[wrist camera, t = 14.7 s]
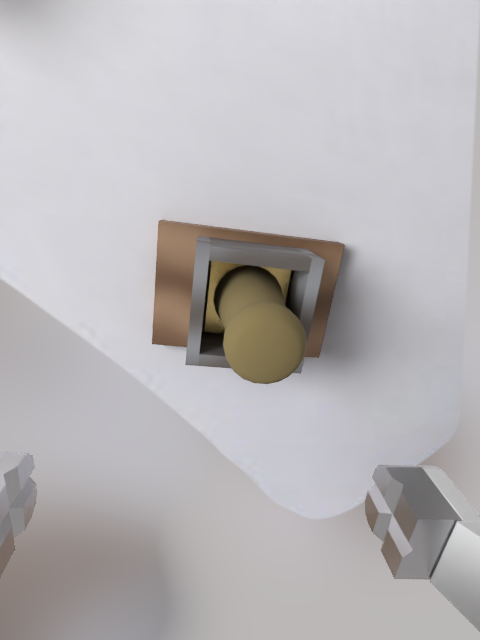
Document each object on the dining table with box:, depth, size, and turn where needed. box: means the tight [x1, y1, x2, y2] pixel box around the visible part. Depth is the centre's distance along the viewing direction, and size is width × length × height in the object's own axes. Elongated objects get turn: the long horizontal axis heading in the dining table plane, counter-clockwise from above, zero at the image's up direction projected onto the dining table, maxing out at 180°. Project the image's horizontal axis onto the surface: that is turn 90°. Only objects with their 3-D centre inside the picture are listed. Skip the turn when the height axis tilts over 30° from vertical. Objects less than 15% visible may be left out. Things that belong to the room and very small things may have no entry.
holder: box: [152, 220, 344, 373], centre depth 31 cm, size 11×16×6 cm
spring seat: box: [204, 261, 291, 334], centre depth 32 cm, size 7×7×1 cm
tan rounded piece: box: [213, 265, 306, 384], centre depth 26 cm, size 6×6×11 cm
